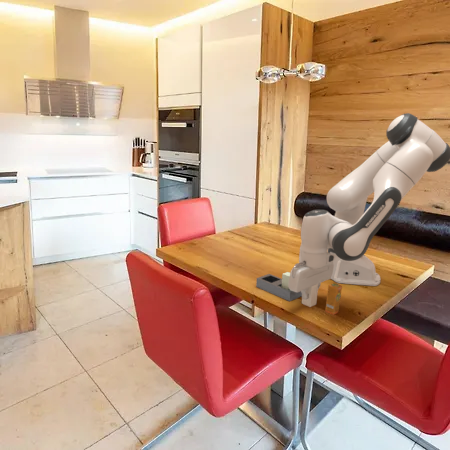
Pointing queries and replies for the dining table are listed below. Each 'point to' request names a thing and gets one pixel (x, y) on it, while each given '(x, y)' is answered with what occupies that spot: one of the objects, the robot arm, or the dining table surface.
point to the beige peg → (285, 280)
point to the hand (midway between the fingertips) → (309, 296)
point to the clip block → (311, 296)
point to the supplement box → (333, 298)
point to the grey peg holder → (276, 287)
